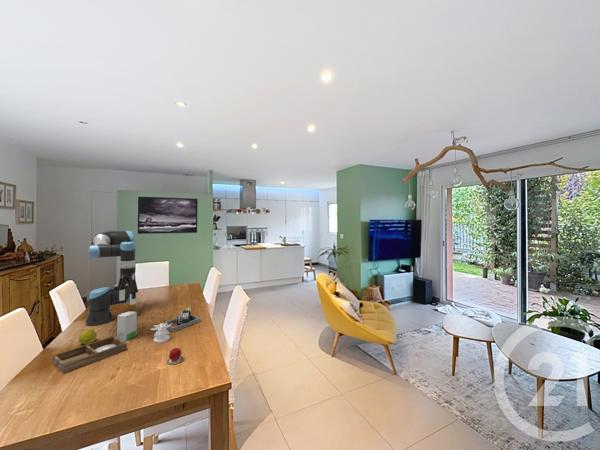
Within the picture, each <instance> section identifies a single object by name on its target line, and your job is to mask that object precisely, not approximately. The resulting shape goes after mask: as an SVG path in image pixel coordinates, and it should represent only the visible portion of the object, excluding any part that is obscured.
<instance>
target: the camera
mask: <svg viewBox="0 0 600 450" xmlns="http://www.w3.org/2000/svg"><path fill="white" fill-rule="evenodd" d="M191 315H192V311H191V308H189V307H187V308H186V309H183V310H182V311H181V313H180V314H177V315H176V318H175V319H176V325H181V324H185V323H188V322H189V321H191V320H192V319H191Z"/></svg>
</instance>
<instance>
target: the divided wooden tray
mask: <svg viewBox="0 0 600 450" xmlns="http://www.w3.org/2000/svg"><path fill="white" fill-rule="evenodd" d="M111 344H113V345H116V346H115V347H112V348H109V349H106V350H104V351H101V352H97V351H96V349H97V348H99V347H102V346H105V345H111ZM127 344H128V343H127V342H126V341H122V340H120V339H118V338H117V336H115V335H112V336H109V337H106V338H103V339H100V340H96V341H94V342H93V343H90V344H87V345H81V346H77V347H75V348H72V349H69V350H66V351H63V352H60V353H57V354H53V355H51V357H52V359H51V361H52V364H53V365H54V366H55V367H56V368H57V369H58V370H59V371H61V372H62V374H66V373H68V372H71V371H74V370H76V369H80V368H82V367H84V366H87V365H90V364H92V363H95V362H98V361H99V360H102V359H105V358H107V357H111V356H113V355H115V354H116V355H117V354H119V353H121V352H124V351H127V349H128V347H127V346H128V345H127Z"/></svg>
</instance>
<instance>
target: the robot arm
mask: <svg viewBox="0 0 600 450" xmlns="http://www.w3.org/2000/svg"><path fill="white" fill-rule="evenodd" d="M92 243H93V244H92V245H90V246H89V247H88V256H89V258H91V259H92V258H93V259H100V258H113V257H114V258H115V257H116V284H114V285H113V288H111V287H110V286H104V287H100V288H95V289H93V290H91V291H90V292H89V296H88V314H87V316H86V319H85V325H86V326H91V327H93V326H100V325H104V324H105V325H106V324H107V323H110V322H112V321H113V319H114V318H113V317H114V316H113V313H112V310H111V306H115V305H123V304H128V303H129V305H130V306H131V305H135V304H136V303H137V300H136V299H137V293H138V292H139V290H138V285H137V281H136V280H137V279H136V276H135V275H133V274H136V248H137V246H136V239H135V233H134V232H133V231H131V230H109V231H108V230H107V231H103V232H100V233H98V234H96V235H95V236H94V237H93V238H92Z"/></svg>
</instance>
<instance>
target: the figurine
mask: <svg viewBox="0 0 600 450" xmlns="http://www.w3.org/2000/svg"><path fill="white" fill-rule="evenodd" d="M172 325H173V324H170V325H167V323H165V324H164V322H160V323H159V324H155V325H153V328H150V330H151V331H155V332H154V333H153V335H154V338H153V339H152V341H153V342H155V343H156V344H162V343H165V342H167V341H169V340H170V338H171V337H170V335H169V333H170V331H169V330H166V329H167V328H168V327H170V326H171V327H172Z"/></svg>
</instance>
